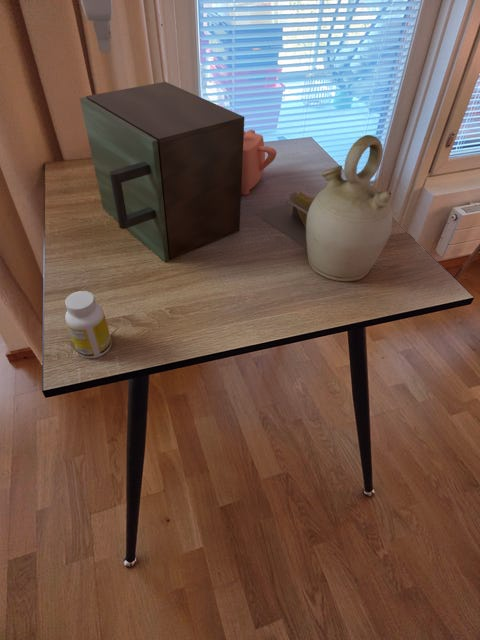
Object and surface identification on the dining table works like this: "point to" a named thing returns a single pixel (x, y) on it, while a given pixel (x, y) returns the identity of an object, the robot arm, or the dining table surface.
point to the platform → (290, 217)
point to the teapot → (254, 160)
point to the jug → (349, 217)
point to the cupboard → (188, 159)
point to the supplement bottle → (87, 325)
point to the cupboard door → (128, 176)
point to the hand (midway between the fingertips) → (105, 44)
